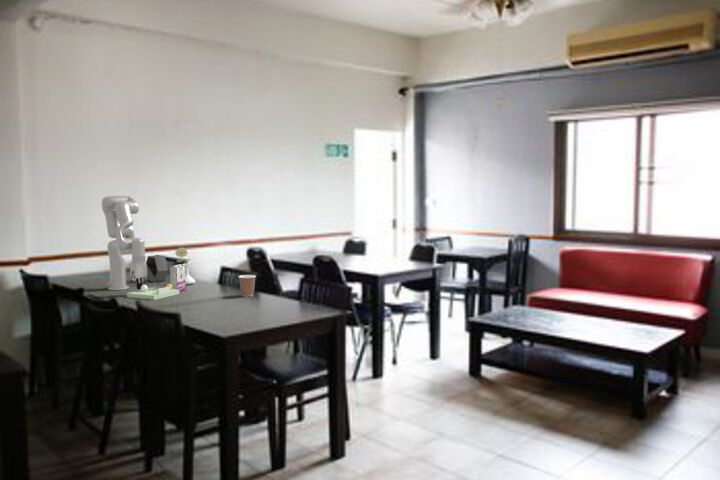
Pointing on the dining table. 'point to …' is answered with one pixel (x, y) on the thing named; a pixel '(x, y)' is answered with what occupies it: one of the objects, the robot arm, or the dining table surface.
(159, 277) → the planter
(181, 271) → the candy bar box
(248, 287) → the coffee cup
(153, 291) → the green deck
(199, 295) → the dining table surface
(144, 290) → the white ball
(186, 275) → the flower in vase
